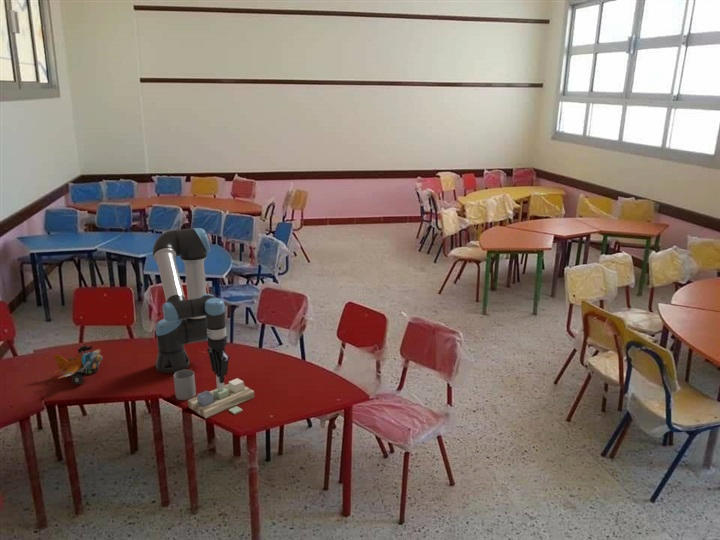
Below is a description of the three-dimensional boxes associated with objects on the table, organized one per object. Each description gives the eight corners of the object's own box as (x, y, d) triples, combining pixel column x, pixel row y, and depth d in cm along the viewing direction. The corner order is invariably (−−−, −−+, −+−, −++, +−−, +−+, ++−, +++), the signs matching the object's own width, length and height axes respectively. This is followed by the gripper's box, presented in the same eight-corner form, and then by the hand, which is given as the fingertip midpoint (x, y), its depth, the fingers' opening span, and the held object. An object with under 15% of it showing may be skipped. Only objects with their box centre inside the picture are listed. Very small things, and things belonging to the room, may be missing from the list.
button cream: (229, 391, 247) (228, 381, 245) (238, 387, 250) (237, 378, 248) (235, 394, 244) (234, 385, 242) (244, 391, 247) (243, 381, 245)
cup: (199, 394, 248) (197, 373, 245) (182, 402, 242) (180, 380, 239) (188, 388, 253) (186, 367, 250) (171, 395, 247) (169, 374, 244)
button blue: (197, 404, 236) (197, 394, 235) (207, 400, 239) (206, 390, 238) (203, 408, 233) (203, 398, 232) (213, 404, 236) (212, 394, 235)
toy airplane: (90, 388, 246) (75, 357, 242) (45, 399, 250) (30, 369, 247) (126, 358, 273) (113, 329, 270) (85, 368, 278) (72, 340, 275)
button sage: (214, 400, 242) (213, 390, 240) (223, 396, 245) (222, 386, 244) (220, 403, 239) (219, 394, 237) (229, 400, 242) (228, 390, 241)
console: (188, 406, 238) (187, 400, 237) (236, 386, 255) (236, 380, 254) (205, 418, 230) (205, 412, 229) (254, 397, 246) (254, 391, 245)
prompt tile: (228, 410, 235) (228, 409, 235) (237, 407, 238) (236, 405, 238) (234, 414, 233) (234, 413, 233) (242, 410, 236) (242, 409, 235)
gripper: (200, 334, 235) (204, 386, 242) (217, 344, 227) (221, 397, 234) (216, 329, 240) (219, 380, 247) (234, 338, 232) (237, 391, 239)
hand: (220, 388), depth 240 cm, fingers closed
